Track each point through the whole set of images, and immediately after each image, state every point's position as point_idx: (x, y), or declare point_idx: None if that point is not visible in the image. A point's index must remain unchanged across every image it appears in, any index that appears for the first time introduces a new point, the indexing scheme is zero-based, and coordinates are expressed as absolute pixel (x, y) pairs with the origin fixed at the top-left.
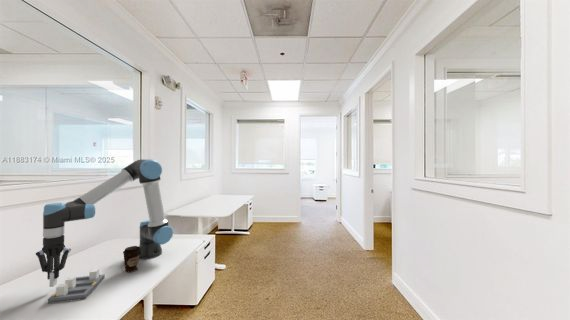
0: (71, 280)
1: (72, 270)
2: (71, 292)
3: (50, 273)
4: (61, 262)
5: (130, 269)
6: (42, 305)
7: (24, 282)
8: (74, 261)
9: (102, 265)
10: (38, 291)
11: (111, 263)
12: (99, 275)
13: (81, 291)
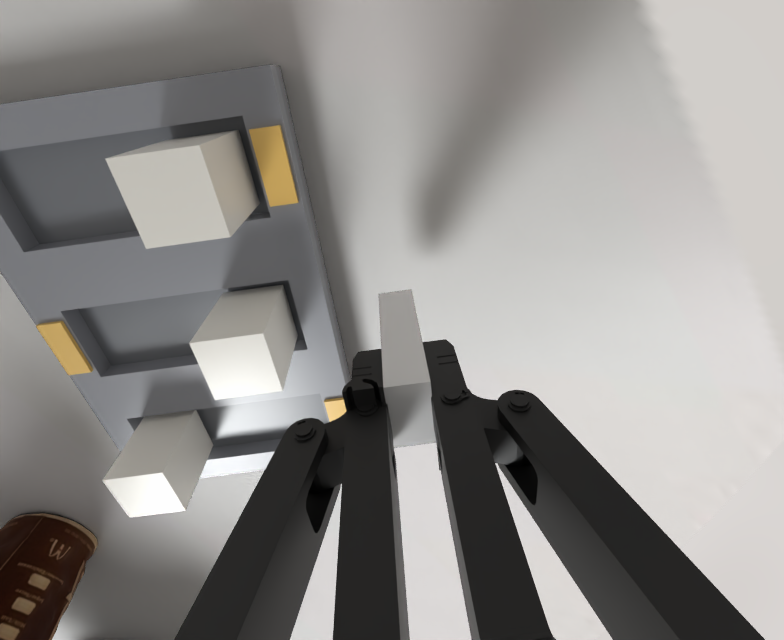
0: (203, 336)
1: None
2: None
3: (419, 378)
4: (258, 541)
5: (9, 537)
6: (307, 30)
7: (695, 443)
8: None
9: (328, 590)
10: (527, 316)
11: None
12: None
13: (89, 237)
